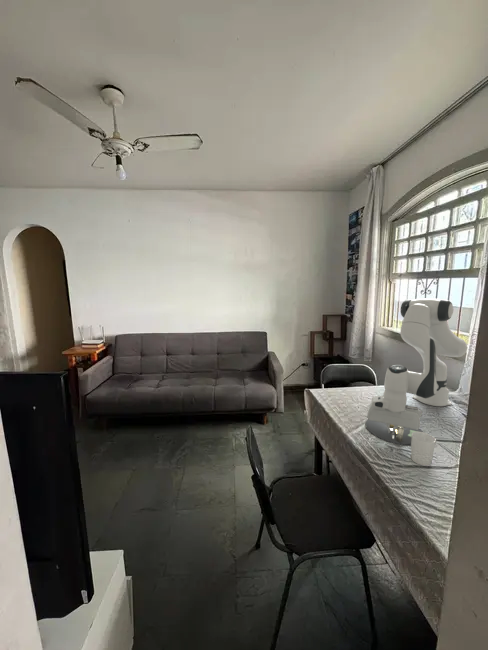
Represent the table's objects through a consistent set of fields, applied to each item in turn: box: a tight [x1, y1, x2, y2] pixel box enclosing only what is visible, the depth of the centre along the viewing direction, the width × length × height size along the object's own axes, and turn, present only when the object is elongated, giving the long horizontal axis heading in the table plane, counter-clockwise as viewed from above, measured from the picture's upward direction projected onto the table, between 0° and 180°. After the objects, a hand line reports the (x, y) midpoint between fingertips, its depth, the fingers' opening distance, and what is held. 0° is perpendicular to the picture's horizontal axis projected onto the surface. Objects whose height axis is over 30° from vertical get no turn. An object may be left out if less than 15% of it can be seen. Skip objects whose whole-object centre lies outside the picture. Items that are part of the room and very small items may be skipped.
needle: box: [389, 424, 404, 442], centre depth 126 cm, size 14×4×6 cm, turn 163°
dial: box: [365, 419, 423, 446], centre depth 132 cm, size 24×24×1 cm
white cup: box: [410, 431, 437, 467], centre depth 109 cm, size 8×8×10 cm
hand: (391, 433), depth 122 cm, fingers closed
